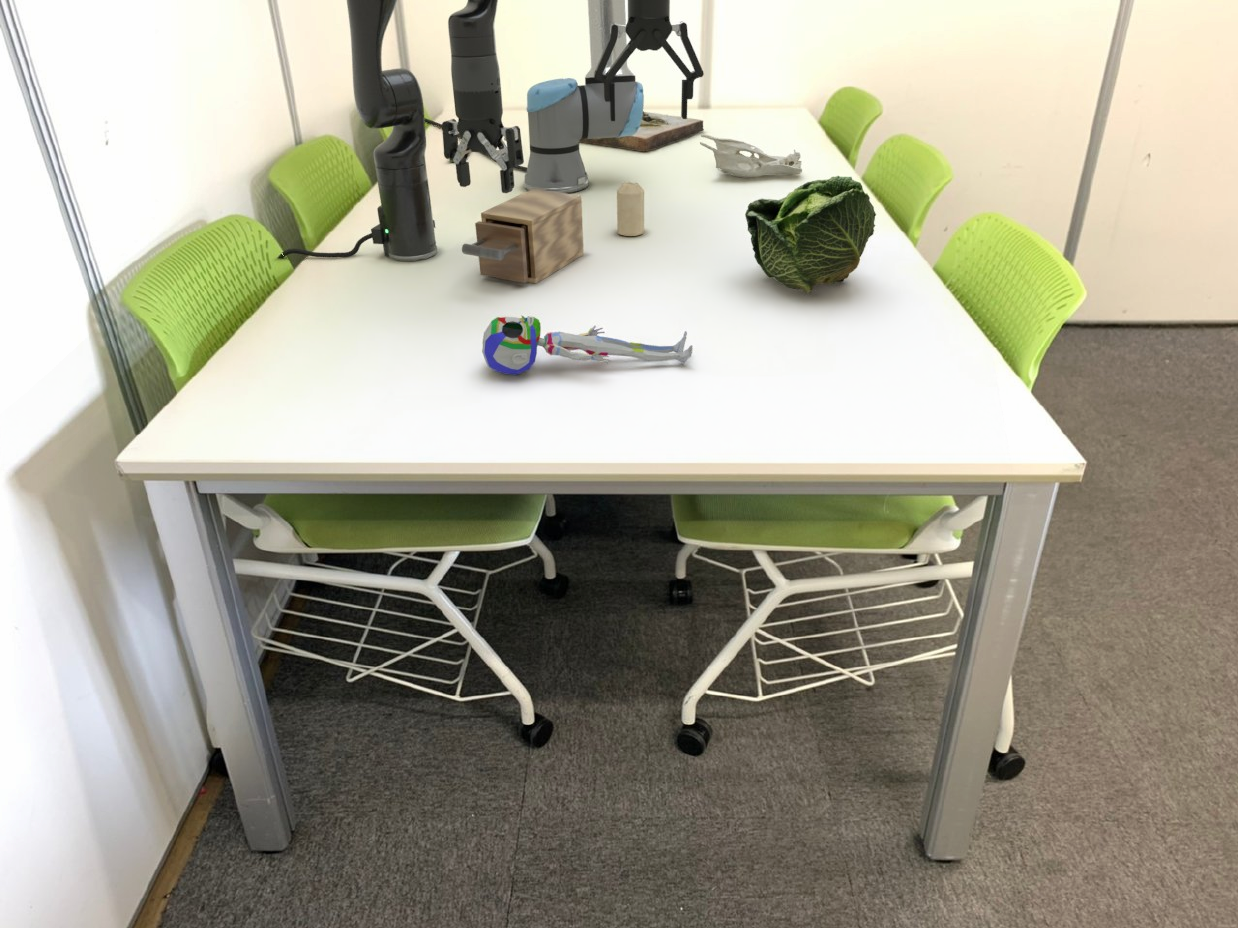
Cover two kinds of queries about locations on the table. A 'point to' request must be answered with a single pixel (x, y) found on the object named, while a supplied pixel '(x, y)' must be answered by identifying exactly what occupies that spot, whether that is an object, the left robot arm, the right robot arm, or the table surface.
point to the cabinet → (545, 228)
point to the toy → (561, 345)
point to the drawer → (501, 250)
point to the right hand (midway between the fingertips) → (648, 119)
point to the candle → (630, 209)
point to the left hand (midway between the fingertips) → (486, 189)
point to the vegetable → (812, 232)
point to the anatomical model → (751, 160)
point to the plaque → (654, 132)
